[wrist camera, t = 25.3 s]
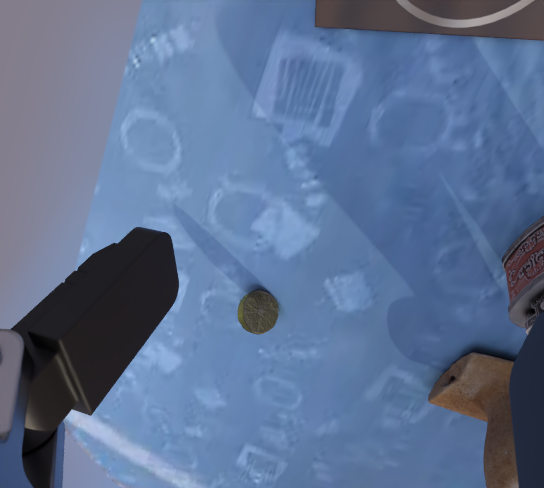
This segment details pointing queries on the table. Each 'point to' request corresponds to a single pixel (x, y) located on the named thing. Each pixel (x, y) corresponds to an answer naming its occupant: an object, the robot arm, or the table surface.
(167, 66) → the table surface
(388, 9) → the brown wooden board
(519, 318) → the lighter
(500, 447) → the stone cup
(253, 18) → the table surface
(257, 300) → the lime
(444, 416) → the table surface
